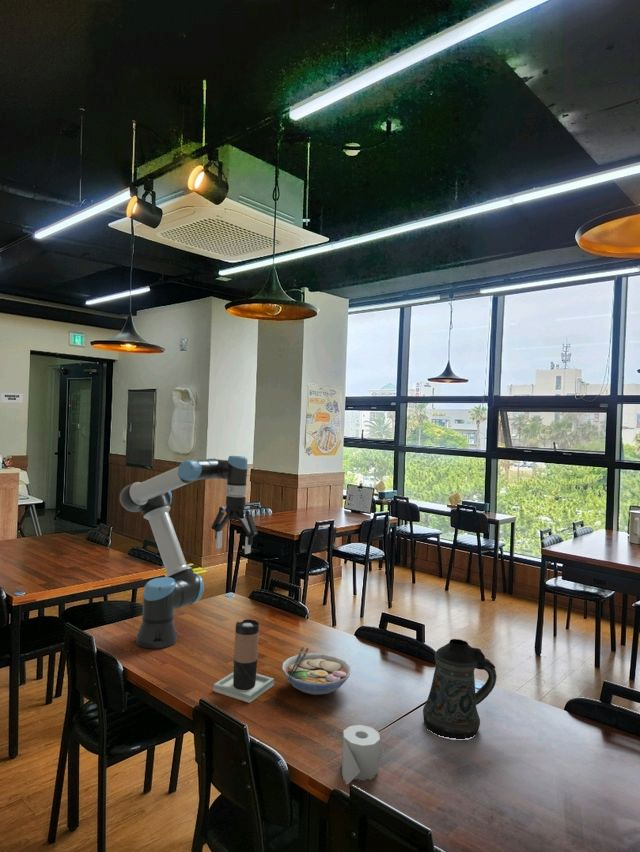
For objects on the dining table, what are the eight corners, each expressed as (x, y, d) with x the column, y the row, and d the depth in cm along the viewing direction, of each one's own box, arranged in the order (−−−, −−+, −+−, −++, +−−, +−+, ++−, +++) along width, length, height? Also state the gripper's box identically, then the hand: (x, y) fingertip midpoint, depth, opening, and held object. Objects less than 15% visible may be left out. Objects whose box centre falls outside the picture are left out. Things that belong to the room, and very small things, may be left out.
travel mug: (254, 691, 175) (257, 628, 175) (230, 689, 175) (233, 626, 175) (257, 680, 182) (260, 619, 182) (234, 679, 182) (237, 618, 183)
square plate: (213, 691, 175) (213, 684, 175) (238, 674, 188) (239, 668, 188) (249, 703, 169) (250, 695, 169) (273, 685, 181) (274, 678, 181)
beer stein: (412, 715, 167) (416, 633, 167) (465, 707, 173) (469, 628, 174) (442, 746, 151) (447, 655, 151) (500, 735, 158) (504, 649, 158)
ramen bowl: (343, 714, 165) (345, 686, 166) (271, 702, 170) (272, 676, 170) (355, 678, 190) (356, 654, 190) (291, 669, 195) (292, 645, 195)
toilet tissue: (342, 789, 130) (344, 753, 131) (341, 756, 144) (343, 723, 144) (381, 792, 130) (382, 755, 130) (375, 758, 144) (377, 725, 144)
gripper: (204, 493, 215) (201, 547, 215) (257, 500, 203) (254, 557, 203) (216, 491, 222) (213, 544, 221) (268, 498, 210) (265, 553, 210)
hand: (233, 550), depth 212 cm, fingers open, 13 cm apart
